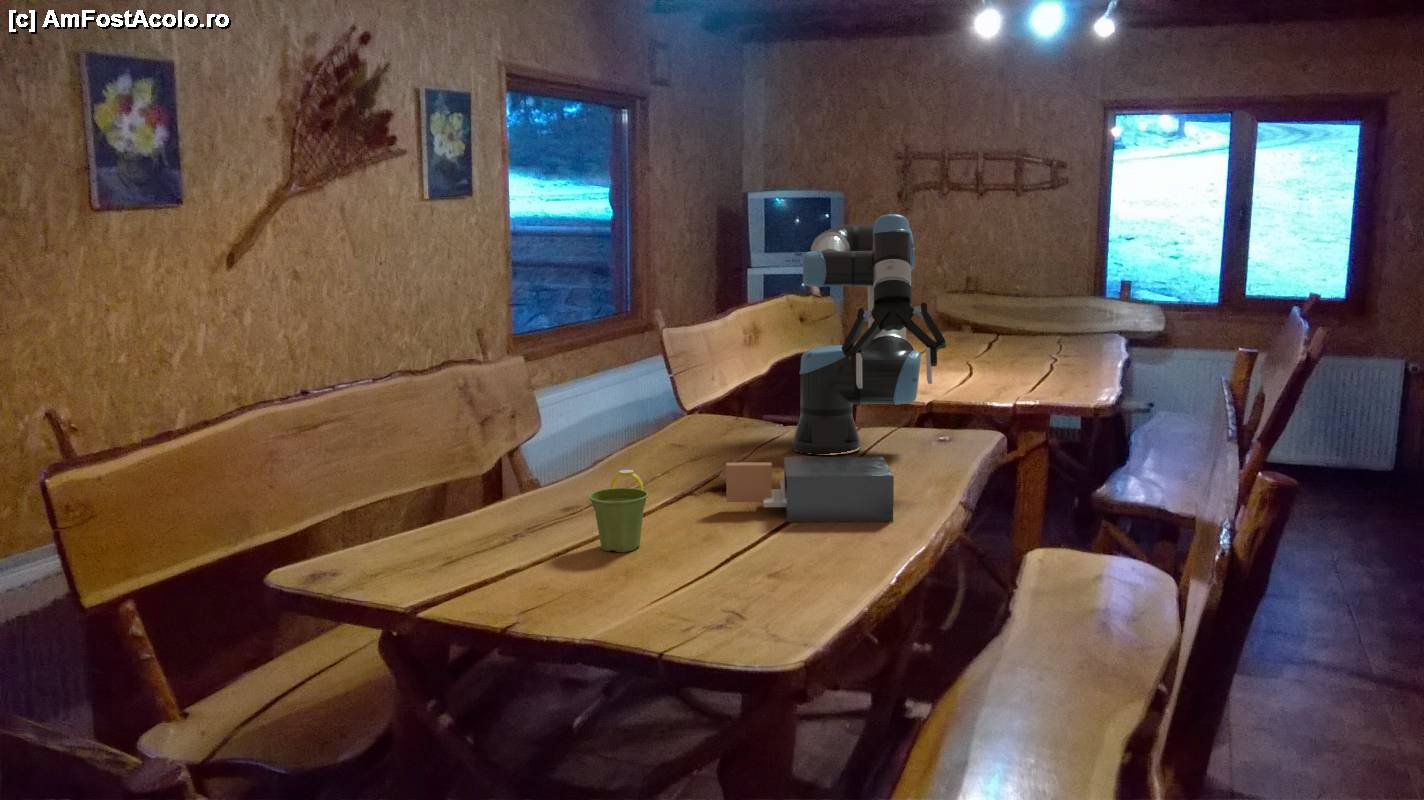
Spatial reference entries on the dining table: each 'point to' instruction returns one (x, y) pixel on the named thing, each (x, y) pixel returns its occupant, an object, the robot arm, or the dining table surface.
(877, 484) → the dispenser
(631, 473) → the watch
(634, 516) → the plant pot
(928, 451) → the dining table surface
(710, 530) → the dining table surface
